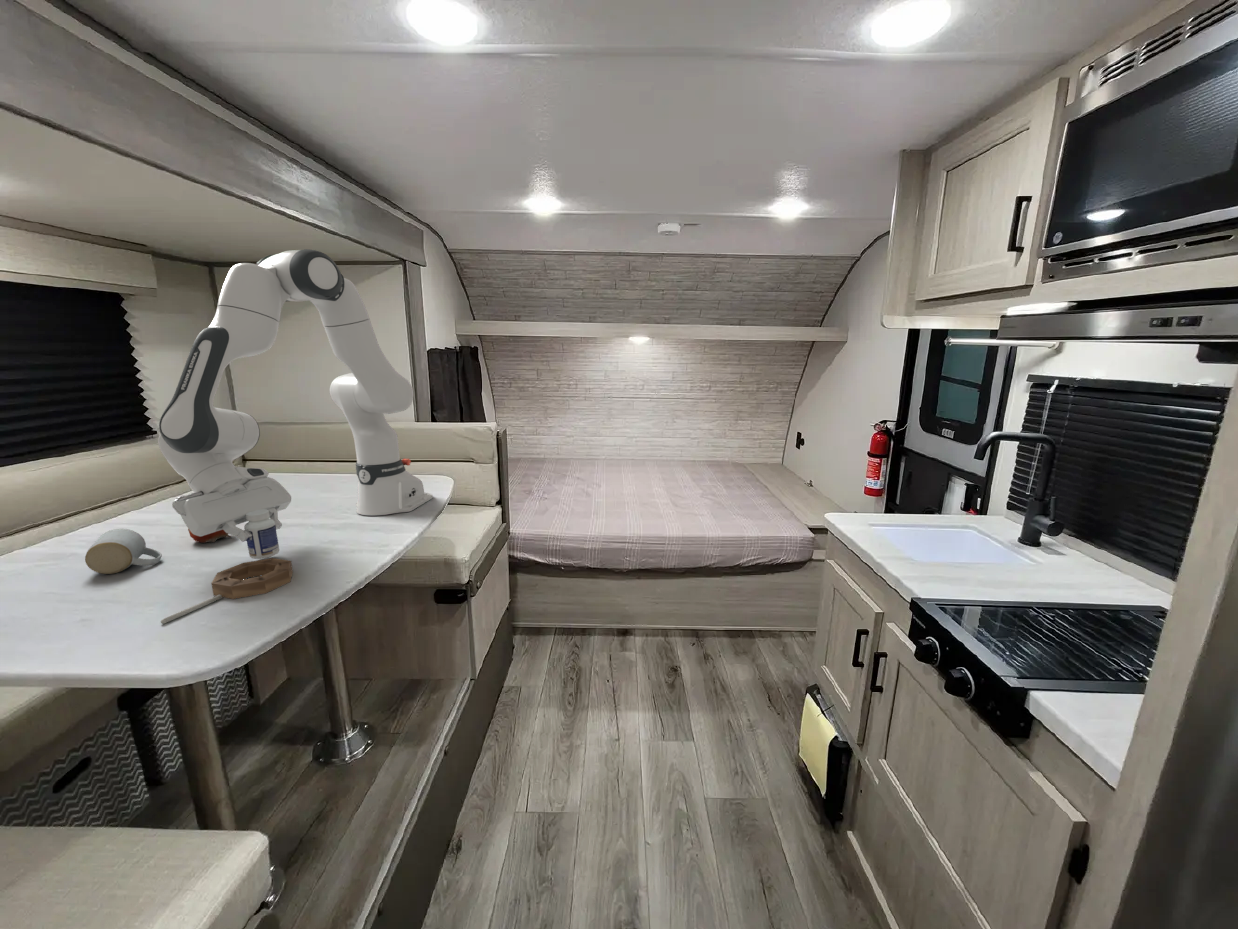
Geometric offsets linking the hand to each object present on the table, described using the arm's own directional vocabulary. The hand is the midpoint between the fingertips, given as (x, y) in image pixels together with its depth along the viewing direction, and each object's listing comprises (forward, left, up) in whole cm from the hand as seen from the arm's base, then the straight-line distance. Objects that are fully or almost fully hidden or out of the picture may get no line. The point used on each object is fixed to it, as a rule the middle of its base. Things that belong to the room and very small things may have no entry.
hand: (263, 533), depth 106 cm
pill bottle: (0, -1, -5) cm, 5 cm away
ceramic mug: (+11, -25, -6) cm, 28 cm away
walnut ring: (+9, +8, -6) cm, 14 cm away
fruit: (-6, -25, -6) cm, 26 cm away
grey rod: (+20, +8, -6) cm, 23 cm away
